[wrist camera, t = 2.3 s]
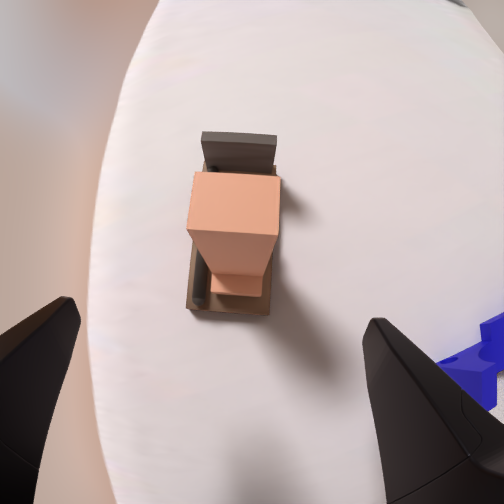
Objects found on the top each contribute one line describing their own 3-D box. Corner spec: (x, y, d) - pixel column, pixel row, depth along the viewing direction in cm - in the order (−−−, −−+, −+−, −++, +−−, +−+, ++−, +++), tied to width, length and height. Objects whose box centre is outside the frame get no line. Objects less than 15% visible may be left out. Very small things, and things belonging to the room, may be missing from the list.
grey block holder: (267, 315, 19) (275, 312, 14) (188, 309, 18) (172, 303, 14) (274, 172, 21) (282, 136, 17) (205, 168, 21) (197, 131, 17)
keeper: (260, 297, 18) (276, 267, 9) (212, 293, 17) (182, 261, 9) (264, 231, 18) (280, 151, 10) (218, 228, 18) (199, 146, 10)
